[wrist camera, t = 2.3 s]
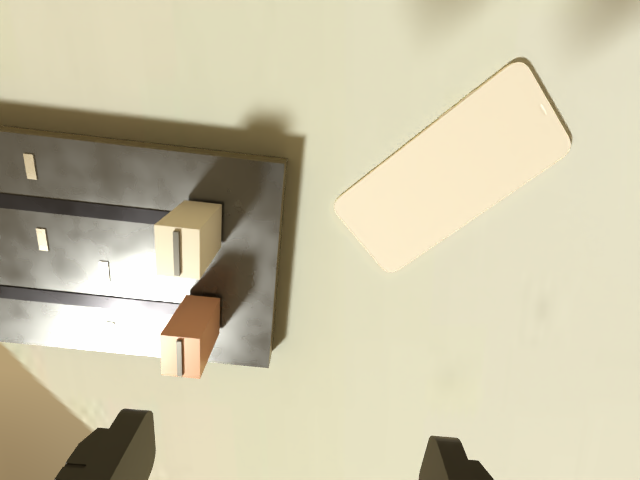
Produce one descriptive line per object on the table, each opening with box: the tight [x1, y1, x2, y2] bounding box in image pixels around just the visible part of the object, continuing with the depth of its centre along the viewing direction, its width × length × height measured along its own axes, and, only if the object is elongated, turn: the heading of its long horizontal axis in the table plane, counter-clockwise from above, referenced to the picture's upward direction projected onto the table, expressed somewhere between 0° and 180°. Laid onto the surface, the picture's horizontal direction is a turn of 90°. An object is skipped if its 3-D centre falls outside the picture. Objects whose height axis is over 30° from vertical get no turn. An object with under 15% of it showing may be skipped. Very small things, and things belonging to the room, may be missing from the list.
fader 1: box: [154, 200, 222, 280], centre depth 23 cm, size 3×2×5 cm
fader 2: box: [160, 295, 220, 379], centre depth 26 cm, size 3×2×5 cm
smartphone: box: [334, 62, 571, 273], centre depth 27 cm, size 7×1×15 cm
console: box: [0, 126, 287, 368], centre depth 27 cm, size 16×24×3 cm, turn 84°
